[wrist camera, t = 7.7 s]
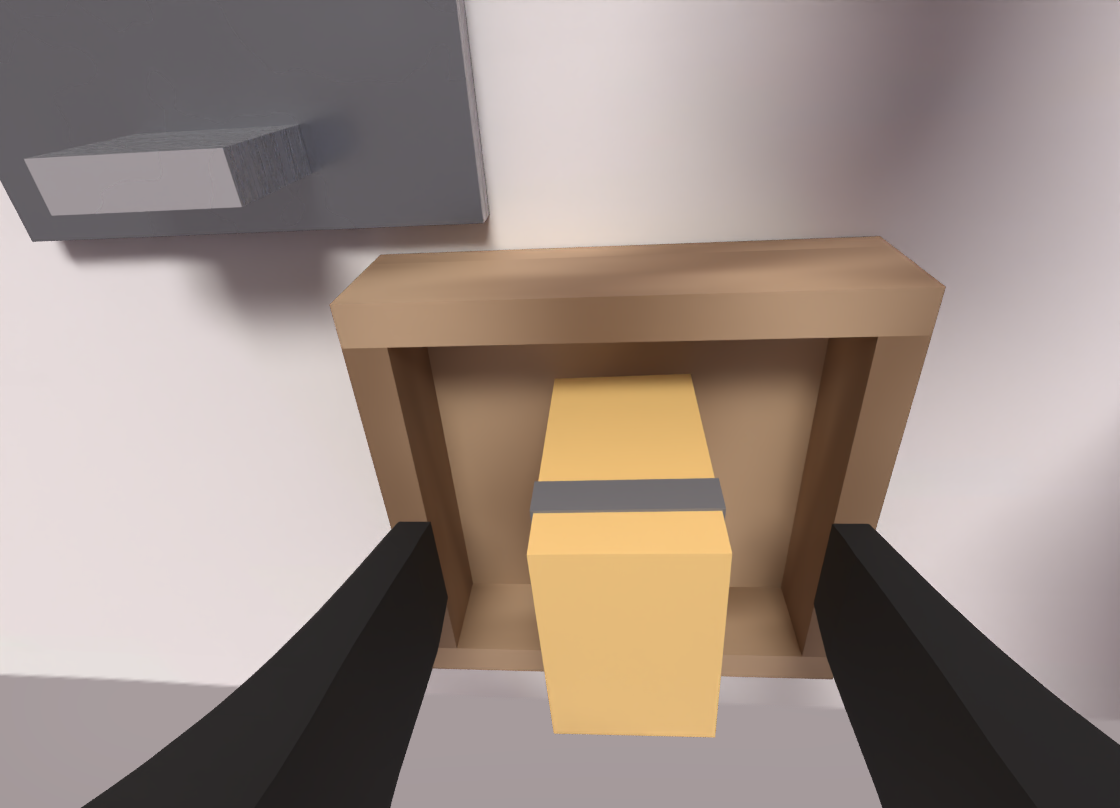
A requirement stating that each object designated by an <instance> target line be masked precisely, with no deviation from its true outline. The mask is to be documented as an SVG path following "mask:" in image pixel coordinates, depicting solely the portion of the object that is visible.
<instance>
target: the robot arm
mask: <svg viewBox="0 0 1120 808" xmlns="http://www.w3.org/2000/svg"><path fill="white" fill-rule="evenodd" d="M447 600H448V595H447V591H446V586H445V582H444V578H443V573H442V569H441V565H440V560H439V556H438V551H437V547H436V543H435V538H434V534H433V530H432V525H431V522H398V523H397V524H396V525H395V526H394V527H393V528H392V529H391V530H390V532H389V533H388V534H387V535H386V536H385V537H384V538H383V539H382V541H381V542H380V543H379V544H378V545H377V546H376V547H375V549H374V550H373V551H372V552H371V553H370V554H369V555H368V557H367V558H366V559H365V560H364V561H363V562H362V563H361V565H360V566H359V567H358V568H357V569H356V570H355V571H354V572H353V574H352V575H351V576H350V577H349V578H348V579H347V580H346V581H345V582H344V584H343V585H342V586H341V587H340V588H339V589H338V590H337V591H336V592H335V593H334V594H333V595H332V597H331V598H330V599H329V600H328V601H327V602H326V603H325V604H324V605H323V606H322V607H321V608H320V610H319V611H318V612H317V613H316V614H315V615H314V616H313V617H312V618H311V619H310V620H309V621H308V622H307V623H306V624H305V625H304V626H303V627H302V628H301V629H300V630H299V631H298V632H297V633H296V634H295V635H294V636H293V637H292V638H291V639H290V640H289V641H288V642H287V643H286V644H285V645H284V646H283V647H282V648H281V649H280V650H279V651H278V652H277V653H276V654H275V655H274V656H273V657H272V658H271V659H269V660H268V661H267V662H266V663H265V664H264V665H263V666H262V667H261V668H260V669H259V670H258V671H257V672H255V673H254V674H253V675H252V676H251V677H250V678H249V679H248V680H247V681H246V682H244V683H243V684H242V685H241V686H240V687H239V688H238V689H236V690H235V691H234V692H233V693H232V694H231V695H230V696H228V697H227V698H226V699H225V700H224V701H223V702H221V703H220V704H219V705H218V706H217V707H215V708H214V709H213V710H212V711H211V712H210V713H208V714H207V715H206V716H204V717H203V718H202V719H201V720H199V721H198V722H197V723H196V724H194V725H193V726H192V727H190V728H189V729H188V730H187V731H186V732H184V733H183V734H181V735H180V736H179V737H178V738H176V739H175V740H174V741H172V742H171V743H170V744H169V745H167V746H166V747H165V748H164V749H162V750H161V751H160V752H158V753H157V754H156V755H154V756H153V757H152V758H151V759H149V760H148V761H147V762H145V763H144V764H143V765H141V766H140V767H139V768H137V769H136V770H134V771H133V772H131V773H130V774H129V775H127V776H126V777H124V778H123V779H122V780H120V781H119V782H118V783H116V784H115V785H113V786H112V787H110V788H109V789H108V790H106V791H105V792H103V793H102V794H100V795H99V796H98V797H96V798H95V799H93V800H92V801H90V802H89V803H87V804H86V805H84V806H83V807H81V808H390V806H391V802H392V798H393V795H394V791H395V787H396V784H397V780H398V776H399V773H400V769H401V766H402V763H403V760H404V757H405V754H406V750H407V747H408V744H409V741H410V738H411V735H412V732H413V729H414V725H415V722H416V719H417V716H418V713H419V709H420V706H421V703H422V700H423V697H424V694H425V691H426V688H427V684H428V681H429V678H430V675H431V671H432V668H433V665H434V662H435V658H436V655H437V652H438V648H439V643H440V638H441V633H442V628H443V622H444V617H445V611H446V605H447ZM814 608H815V612H816V616H817V621H818V625H819V629H820V633H821V637H822V641H823V645H824V649H825V653H826V657H827V660H828V663H829V666H830V669H831V671H832V674H833V677H834V680H835V682H836V685H837V688H838V690H839V693H840V696H841V698H842V701H843V704H844V706H845V709H846V712H847V714H848V717H849V719H850V722H851V725H852V727H853V730H854V733H855V735H856V738H857V741H858V743H859V746H860V748H861V751H862V754H863V756H864V759H865V761H866V764H867V767H868V769H869V772H870V775H871V777H872V780H873V783H874V785H875V788H876V791H877V793H878V796H879V799H880V802H881V805H882V808H1120V745H1119V744H1117V743H1116V742H1115V741H1114V740H1112V739H1111V738H1110V737H1108V736H1107V735H1106V734H1104V733H1103V732H1102V731H1101V730H1099V729H1098V728H1097V727H1095V726H1094V725H1093V724H1091V723H1090V722H1089V721H1087V720H1086V719H1085V718H1084V717H1082V716H1081V715H1080V714H1078V713H1077V712H1076V711H1074V710H1073V709H1072V708H1071V707H1069V706H1068V705H1067V704H1065V703H1064V702H1063V701H1062V700H1060V699H1059V698H1058V697H1057V696H1055V695H1054V694H1053V693H1052V692H1050V691H1049V690H1048V689H1047V688H1045V687H1044V686H1043V685H1042V684H1041V683H1039V682H1038V681H1037V680H1036V679H1035V678H1033V677H1032V676H1031V675H1030V674H1029V673H1028V672H1026V671H1025V670H1024V669H1023V668H1022V667H1021V666H1019V665H1018V664H1017V663H1016V662H1015V661H1013V660H1012V659H1011V658H1010V657H1009V656H1008V655H1006V654H1005V653H1004V652H1003V651H1002V650H1001V649H999V648H998V647H997V646H996V645H995V644H994V643H993V642H992V641H990V640H989V639H988V638H987V637H986V636H985V635H984V634H983V633H981V632H980V631H979V630H978V629H977V628H976V627H975V626H974V625H973V624H972V623H971V622H969V621H968V620H967V619H966V618H965V617H964V616H963V615H962V614H961V613H960V612H959V611H958V610H957V609H956V608H954V607H953V606H952V605H951V604H950V603H949V602H948V601H947V600H946V599H945V598H944V597H943V596H942V595H941V594H940V593H939V592H938V591H937V590H936V589H934V588H933V587H932V586H931V585H930V584H929V583H928V582H927V581H926V580H925V579H924V578H923V577H922V576H921V575H920V574H919V573H918V572H917V571H916V570H915V569H914V568H913V567H912V566H911V565H910V564H909V563H908V562H907V561H906V560H905V559H904V558H903V557H902V556H901V555H900V554H899V553H898V552H897V551H896V550H895V549H894V548H893V547H892V546H891V545H890V544H889V543H888V542H887V541H886V540H885V539H884V538H883V537H882V536H881V535H880V534H879V533H878V532H877V531H876V530H875V529H874V528H873V527H872V526H871V525H870V524H832V527H831V531H830V535H829V540H828V544H827V548H826V552H825V557H824V561H823V565H822V569H821V573H820V578H819V582H818V586H817V590H816V595H815V599H814Z"/></svg>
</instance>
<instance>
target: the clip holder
mask: <svg viewBox="0 0 1120 808" xmlns="http://www.w3.org/2000/svg"><path fill="white" fill-rule="evenodd" d="M0 180H1V182H2V184H3V186H4V188H5V190H6V192H7V194H8V196H9V198H10V200H11V202H12V203H13V205H14V207H15V209H16V211H17V213H18V215H19V217H20V219H21V221H22V223H23V225H24V226H25V228H26V230H27V232H28V234H29V236H30V238H31V240H32V242H36V241H61V240H85V239H109V238H133V237H158V236H182V235H206V234H231V233H255V232H279V231H303V230H328V229H352V228H376V227H401V226H425V225H449V224H473V223H484V222H485V220H486V219H487V217H488V216H489V208H488V200H487V191H486V183H485V174H484V166H483V157H482V149H481V141H480V132H479V124H478V115H477V107H476V98H475V90H474V82H473V73H472V65H471V56H470V48H469V40H468V31H467V23H466V14H465V6H464V0H0Z"/></svg>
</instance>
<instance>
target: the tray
mask: <svg viewBox="0 0 1120 808" xmlns="http://www.w3.org/2000/svg"><path fill="white" fill-rule="evenodd" d="M945 288H946V287H945V286H944V285H943V284H941V283H940V282H939V281H938V280H936V279H935V278H934V277H932V276H931V275H930V274H928V273H927V272H926V271H925V270H923V269H922V268H921V267H919V266H918V265H917V264H915V263H914V262H913V261H912V260H910V259H909V258H908V257H906V256H905V255H904V254H902V253H901V252H900V251H899V250H897V249H896V248H895V247H893V246H892V245H891V244H889V243H888V242H887V241H886V240H884V239H883V238H882V237H880V236H874V237H847V238H820V239H792V240H765V241H738V242H711V243H684V244H657V245H630V246H603V247H576V248H549V249H522V250H494V251H467V252H440V253H413V254H386V255H380V256H379V257H378V258H377V259H376V260H375V261H374V262H373V263H372V264H371V265H370V266H369V267H368V268H367V269H366V270H364V271H363V272H362V273H361V274H360V275H359V276H358V277H357V278H356V279H355V280H354V281H353V282H352V283H351V284H350V285H349V286H348V287H347V288H346V289H345V290H344V291H343V292H342V293H341V294H340V295H339V296H338V297H337V298H336V299H335V300H334V301H333V302H332V303H331V304H330V308H331V312H332V316H333V319H334V323H335V326H336V330H337V334H338V337H339V341H340V345H341V348H342V352H343V355H344V359H345V363H346V366H347V370H348V374H349V377H350V381H351V384H352V388H353V392H354V395H355V399H356V402H357V406H358V410H359V413H360V417H361V421H362V424H363V428H364V431H365V435H366V439H367V442H368V446H369V450H370V453H371V457H372V460H373V464H374V468H375V471H376V475H377V478H378V482H379V486H380V489H381V493H382V497H383V500H384V504H385V507H386V511H387V515H388V518H389V522H390V526H391V529H392V528H393V527H394V526H395V525H396V524H397V523H398V522H431V525H432V530H433V534H434V538H435V543H436V547H437V551H438V556H439V560H440V565H441V569H442V573H443V578H444V582H445V586H446V591H447V595H448V600H447V605H446V611H445V617H444V622H443V628H442V633H441V638H440V643H439V648H438V652H437V655H436V658H435V662H434V665H433V668H438V669H475V670H511V671H544V666H543V659H542V652H541V646H540V639H539V633H538V626H537V620H536V613H535V607H534V600H533V593H532V587H531V580H530V574H529V567H528V561H527V549H528V543H529V537H530V530H531V517H530V505H531V499H532V493H533V488H534V482H535V481H538V480H539V474H540V468H541V461H542V455H543V449H544V442H545V436H546V430H547V424H548V417H549V411H550V405H551V398H552V392H553V386H554V380H555V379H561V378H589V377H616V376H644V375H671V374H691V378H692V382H693V387H694V391H695V395H696V400H697V404H698V408H699V413H700V417H701V421H702V425H703V430H704V434H705V438H706V443H707V447H708V451H709V456H710V460H711V464H712V469H713V473H714V477H715V478H719V481H720V485H721V489H722V494H723V498H724V502H725V506H726V515H725V524H726V529H727V533H728V537H729V542H730V546H731V550H732V562H731V572H730V583H729V594H728V604H727V615H726V626H725V636H724V647H723V658H722V668H721V676H732V677H768V678H805V679H833V674H832V671H831V669H830V666H829V663H828V660H827V657H826V653H825V649H824V645H823V641H822V637H821V633H820V629H819V625H818V621H817V616H816V612H815V608H814V599H815V595H816V590H817V586H818V582H819V578H820V573H821V569H822V565H823V561H824V557H825V552H826V548H827V544H828V540H829V535H830V531H831V527H832V524H870V525H871V526H872V527H873V528H874V529H875V530H876V527H877V523H878V520H879V516H880V513H881V509H882V506H883V502H884V499H885V495H886V492H887V489H888V485H889V482H890V478H891V475H892V471H893V468H894V464H895V461H896V457H897V454H898V450H899V447H900V444H901V440H902V437H903V433H904V430H905V426H906V423H907V419H908V416H909V412H910V409H911V405H912V402H913V398H914V395H915V392H916V388H917V385H918V381H919V378H920V374H921V371H922V367H923V364H924V360H925V357H926V353H927V350H928V347H929V343H930V340H931V336H932V333H933V329H934V326H935V322H936V319H937V315H938V312H939V308H940V305H941V301H942V298H943V295H944V291H945Z"/></svg>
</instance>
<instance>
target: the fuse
mask: <svg viewBox="0 0 1120 808" xmlns="http://www.w3.org/2000/svg"><path fill="white" fill-rule="evenodd" d="M725 515H726V506H725V502H724V498H723V494H722V489H721V485H720V481H719V478H715V477H714V473H713V469H712V464H711V460H710V456H709V451H708V447H707V443H706V438H705V434H704V430H703V425H702V421H701V417H700V413H699V408H698V404H697V400H696V395H695V391H694V387H693V382H692V378H691V374H671V375H644V376H616V377H589V378H561V379H555V380H554V386H553V392H552V398H551V405H550V411H549V417H548V424H547V430H546V436H545V442H544V449H543V455H542V461H541V468H540V474H539V480H538V481H535V482H534V488H533V493H532V499H531V505H530V517H531V530H530V537H529V543H528V549H527V561H528V567H529V574H530V580H531V587H532V593H533V600H534V607H535V613H536V620H537V626H538V633H539V639H540V646H541V652H542V659H543V666H544V672H545V679H546V685H547V692H548V698H549V704H550V711H551V718H552V724H553V730H554V733H556V734H558V733H559V734H598V735H639V736H640V735H641V736H680V737H715V732H716V722H717V721H716V720H717V710H718V700H719V690H720V679H721V668H722V658H723V647H724V636H725V626H726V615H727V604H728V594H729V583H730V572H731V562H732V550H731V546H730V542H729V537H728V533H727V529H726V524H725Z"/></svg>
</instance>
